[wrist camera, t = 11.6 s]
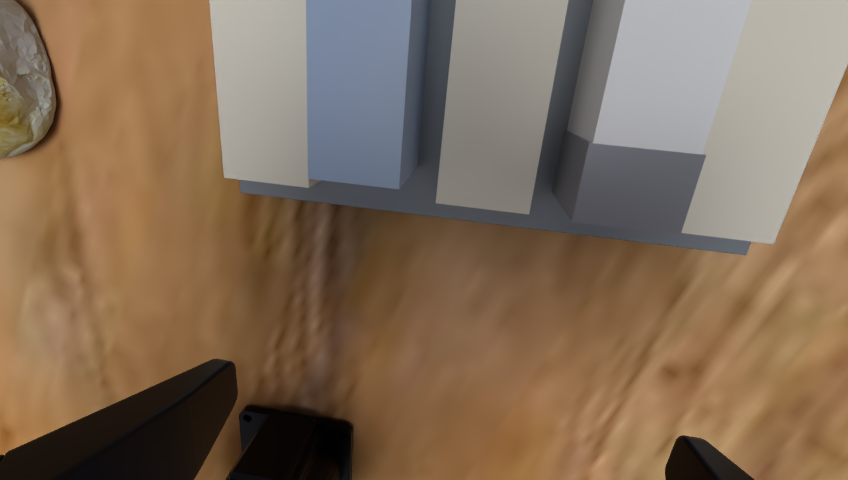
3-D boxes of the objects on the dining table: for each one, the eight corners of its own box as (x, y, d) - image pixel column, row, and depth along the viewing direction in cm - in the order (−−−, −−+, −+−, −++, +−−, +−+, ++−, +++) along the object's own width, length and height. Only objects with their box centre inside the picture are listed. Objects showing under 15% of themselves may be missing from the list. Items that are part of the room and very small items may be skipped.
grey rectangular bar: (419, 167, 17) (401, 189, 13) (343, 158, 17) (304, 178, 14) (447, -158, 13) (433, -254, 10) (349, -162, 14) (298, -256, 10)
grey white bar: (617, -136, 13) (672, -227, 9) (726, -131, 13) (829, -223, 9) (551, 191, 17) (571, 221, 13) (635, 201, 16) (680, 235, 13)
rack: (731, 246, 17) (770, 270, 15) (252, 187, 19) (220, 201, 17) (895, -191, 12) (990, -256, 10) (228, -210, 14) (179, -267, 12)
